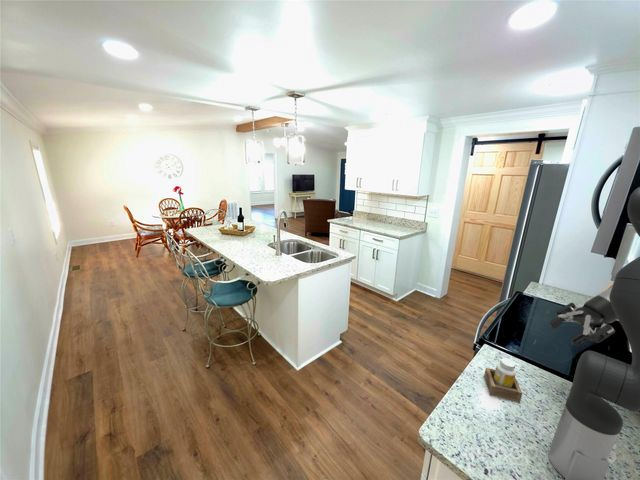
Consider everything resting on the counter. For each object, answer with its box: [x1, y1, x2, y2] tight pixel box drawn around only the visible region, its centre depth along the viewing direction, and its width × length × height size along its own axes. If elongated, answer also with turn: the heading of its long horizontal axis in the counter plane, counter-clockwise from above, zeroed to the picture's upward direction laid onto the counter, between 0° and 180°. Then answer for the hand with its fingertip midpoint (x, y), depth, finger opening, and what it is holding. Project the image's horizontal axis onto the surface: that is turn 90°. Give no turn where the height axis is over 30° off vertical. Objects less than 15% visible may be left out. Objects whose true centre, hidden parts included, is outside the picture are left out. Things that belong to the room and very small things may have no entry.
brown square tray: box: [483, 367, 523, 404], centre depth 89 cm, size 8×8×4 cm
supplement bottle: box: [493, 357, 517, 388], centre depth 88 cm, size 5×5×10 cm
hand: (561, 334), depth 84 cm, fingers open, 8 cm apart
